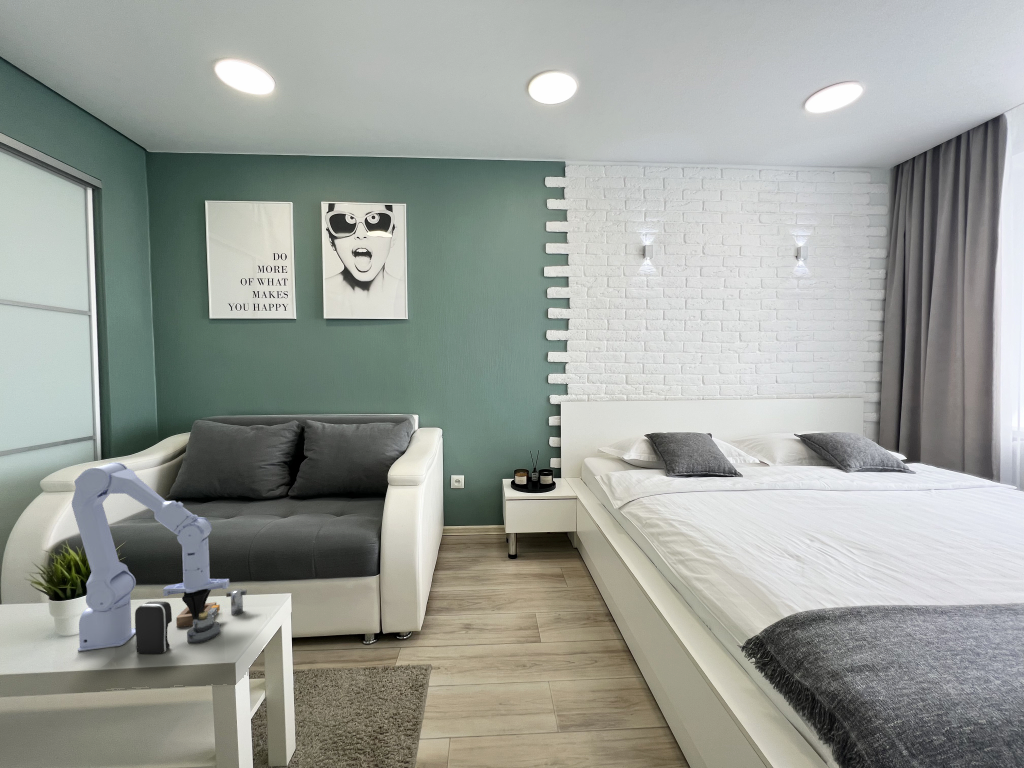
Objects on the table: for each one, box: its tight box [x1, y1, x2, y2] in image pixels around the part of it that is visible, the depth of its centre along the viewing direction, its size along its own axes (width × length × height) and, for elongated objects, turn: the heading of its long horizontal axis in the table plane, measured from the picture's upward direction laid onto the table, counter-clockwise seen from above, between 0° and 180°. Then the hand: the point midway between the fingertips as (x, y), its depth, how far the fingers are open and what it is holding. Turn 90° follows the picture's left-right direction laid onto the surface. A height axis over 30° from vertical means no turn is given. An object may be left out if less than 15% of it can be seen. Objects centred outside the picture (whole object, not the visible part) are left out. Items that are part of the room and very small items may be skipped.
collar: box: [192, 604, 221, 632], centre depth 122 cm, size 4×11×2 cm, turn 13°
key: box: [226, 588, 248, 616], centre depth 131 cm, size 5×3×6 cm, turn 103°
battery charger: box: [134, 600, 173, 655], centre depth 113 cm, size 7×4×11 cm, turn 86°
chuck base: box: [186, 611, 221, 645], centre depth 119 cm, size 7×7×6 cm
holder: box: [175, 601, 217, 628], centre depth 128 cm, size 7×7×3 cm
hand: (198, 618), depth 122 cm, fingers closed
